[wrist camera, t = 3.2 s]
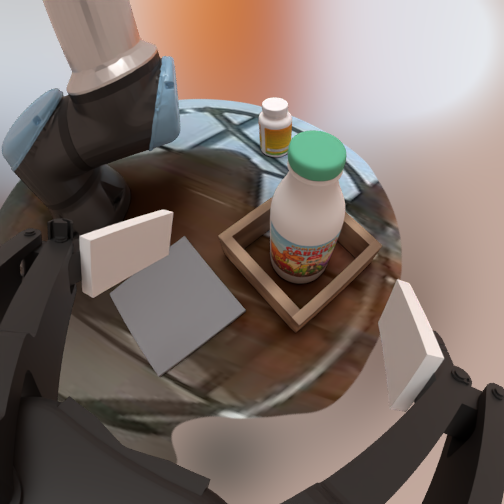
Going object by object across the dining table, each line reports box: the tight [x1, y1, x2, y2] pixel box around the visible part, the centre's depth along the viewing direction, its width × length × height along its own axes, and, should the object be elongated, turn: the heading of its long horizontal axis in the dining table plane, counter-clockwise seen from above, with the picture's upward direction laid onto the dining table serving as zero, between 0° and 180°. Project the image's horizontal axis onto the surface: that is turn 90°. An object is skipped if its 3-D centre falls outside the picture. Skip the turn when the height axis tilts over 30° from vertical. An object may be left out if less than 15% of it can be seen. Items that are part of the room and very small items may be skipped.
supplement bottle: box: [259, 98, 292, 157], centre depth 43 cm, size 5×5×10 cm
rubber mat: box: [110, 236, 246, 376], centre depth 36 cm, size 14×14×1 cm
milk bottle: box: [270, 131, 346, 283], centre depth 29 cm, size 8×8×20 cm
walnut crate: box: [218, 197, 382, 333], centre depth 36 cm, size 14×14×5 cm
